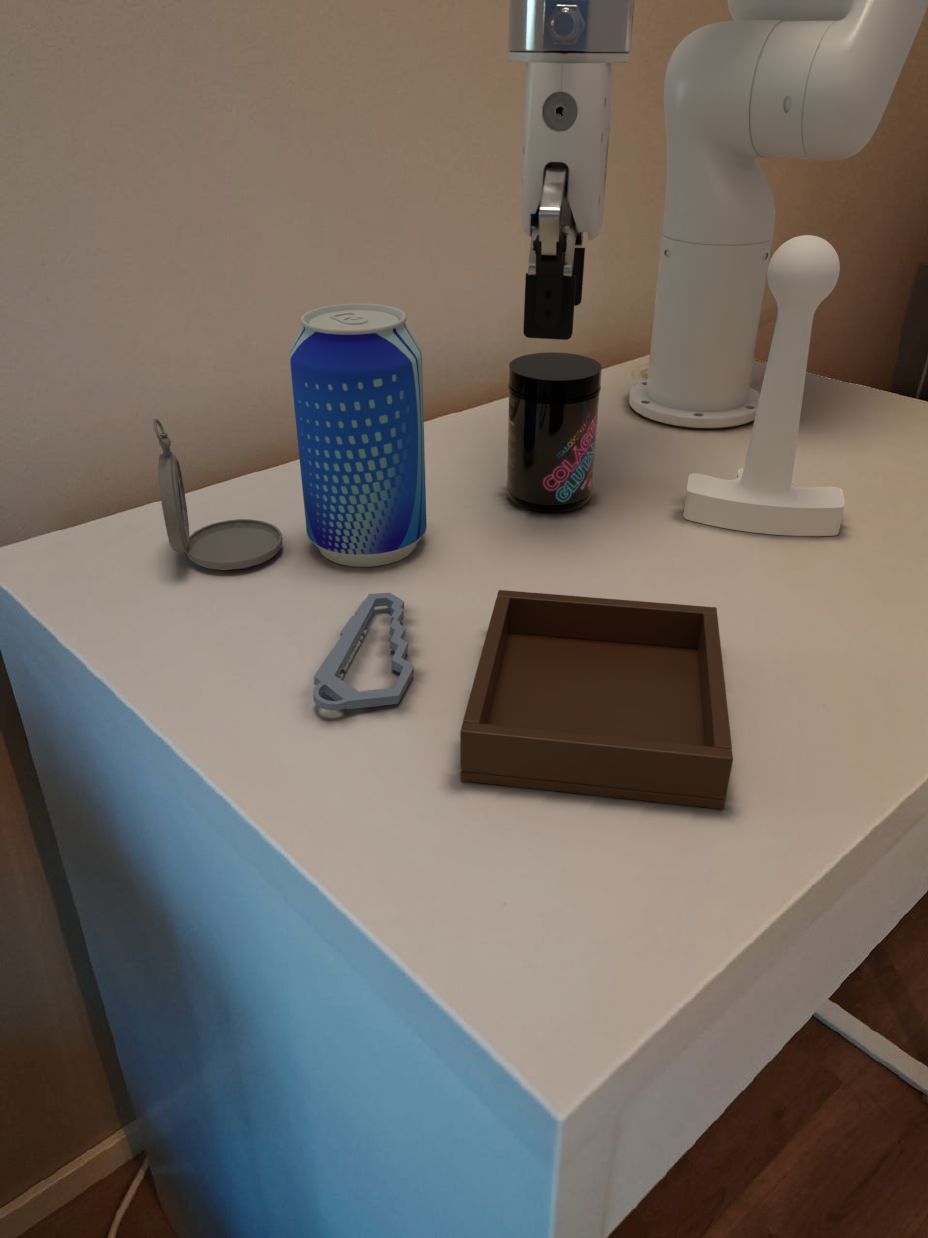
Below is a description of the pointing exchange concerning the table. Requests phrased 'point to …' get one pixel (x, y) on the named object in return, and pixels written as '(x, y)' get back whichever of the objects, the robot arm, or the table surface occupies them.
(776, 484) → the joystick
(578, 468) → the supplement container
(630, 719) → the tray
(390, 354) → the beer can
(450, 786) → the table surface
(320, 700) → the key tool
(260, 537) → the pocket watch
